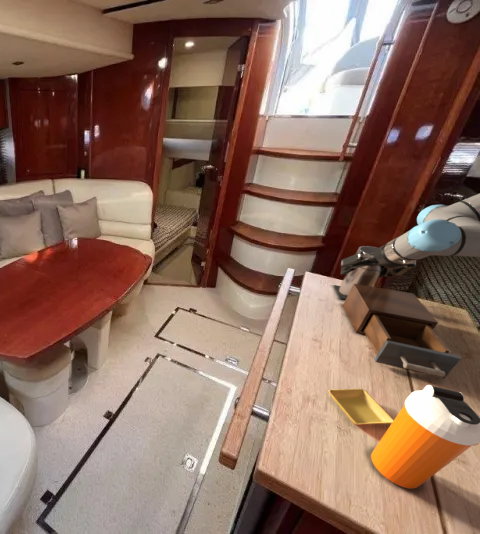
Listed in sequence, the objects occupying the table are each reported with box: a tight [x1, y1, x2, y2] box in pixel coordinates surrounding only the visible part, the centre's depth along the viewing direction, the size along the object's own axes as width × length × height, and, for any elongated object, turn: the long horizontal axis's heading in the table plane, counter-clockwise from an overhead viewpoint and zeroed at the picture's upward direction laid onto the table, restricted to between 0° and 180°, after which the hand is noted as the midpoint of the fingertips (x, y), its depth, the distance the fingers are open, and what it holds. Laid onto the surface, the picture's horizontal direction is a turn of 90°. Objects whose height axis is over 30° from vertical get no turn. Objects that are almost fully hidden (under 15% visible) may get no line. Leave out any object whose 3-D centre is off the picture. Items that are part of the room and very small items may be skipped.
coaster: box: [333, 284, 347, 301], centre depth 108 cm, size 9×9×1 cm
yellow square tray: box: [328, 388, 395, 426], centre depth 69 cm, size 9×9×2 cm
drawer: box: [364, 313, 462, 379], centre depth 80 cm, size 18×14×7 cm
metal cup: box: [338, 245, 385, 297], centre depth 103 cm, size 8×8×17 cm
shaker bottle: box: [370, 384, 480, 489], centre depth 54 cm, size 9×9×20 cm
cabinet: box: [342, 284, 439, 336], centre depth 92 cm, size 15×15×9 cm
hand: (357, 273), depth 107 cm, fingers closed on metal cup, 8 cm apart
